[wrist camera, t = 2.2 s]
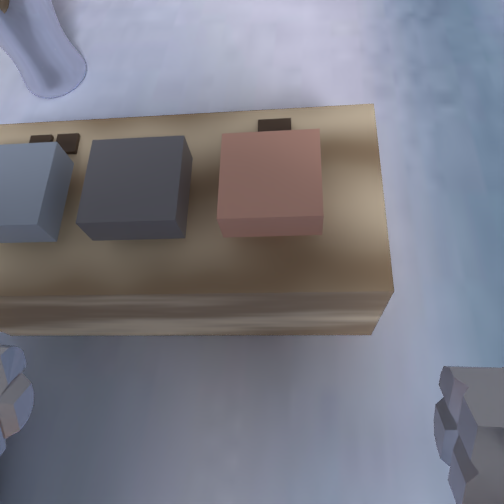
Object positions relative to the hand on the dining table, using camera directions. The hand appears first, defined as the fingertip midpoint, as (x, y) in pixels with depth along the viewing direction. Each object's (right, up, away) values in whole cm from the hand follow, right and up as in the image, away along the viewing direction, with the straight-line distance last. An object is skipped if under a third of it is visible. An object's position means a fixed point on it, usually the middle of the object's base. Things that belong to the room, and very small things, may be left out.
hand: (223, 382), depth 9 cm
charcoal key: (-5, +5, +16) cm, 18 cm away
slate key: (-12, +5, +17) cm, 21 cm away
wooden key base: (-4, +2, +26) cm, 26 cm away
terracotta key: (+2, +6, +15) cm, 16 cm away
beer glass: (-18, +20, +36) cm, 45 cm away
